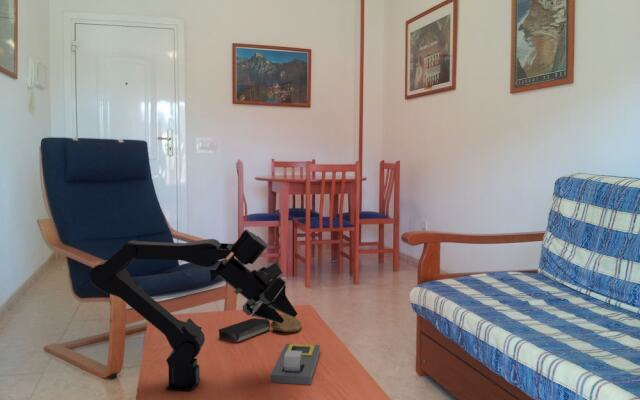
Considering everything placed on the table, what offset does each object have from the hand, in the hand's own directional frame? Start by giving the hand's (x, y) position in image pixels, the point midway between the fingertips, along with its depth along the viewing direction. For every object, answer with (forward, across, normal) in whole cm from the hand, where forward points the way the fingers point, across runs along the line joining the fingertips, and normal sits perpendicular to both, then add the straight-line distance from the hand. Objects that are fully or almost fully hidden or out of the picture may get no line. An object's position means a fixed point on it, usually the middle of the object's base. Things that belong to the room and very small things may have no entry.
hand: (289, 318), depth 127 cm
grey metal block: (+12, +11, +7) cm, 17 cm away
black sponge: (0, +42, -2) cm, 42 cm away
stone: (+10, +40, -11) cm, 42 cm away
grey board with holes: (+12, +15, +3) cm, 20 cm away
